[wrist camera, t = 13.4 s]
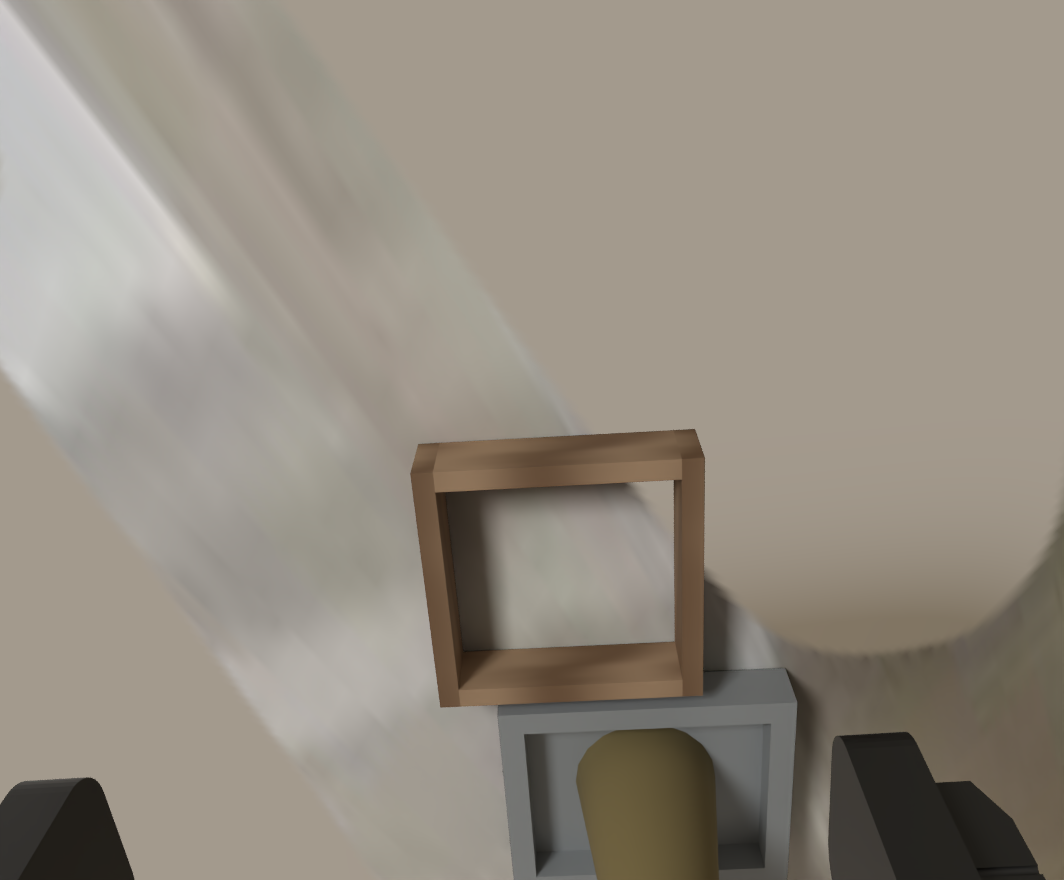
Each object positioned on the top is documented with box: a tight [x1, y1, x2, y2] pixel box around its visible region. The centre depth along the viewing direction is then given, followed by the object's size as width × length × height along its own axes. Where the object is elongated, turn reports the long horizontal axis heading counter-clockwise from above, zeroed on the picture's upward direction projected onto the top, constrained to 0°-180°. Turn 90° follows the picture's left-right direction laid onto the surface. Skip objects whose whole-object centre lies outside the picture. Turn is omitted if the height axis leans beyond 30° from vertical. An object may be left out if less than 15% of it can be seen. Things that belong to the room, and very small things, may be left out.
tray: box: [498, 668, 797, 880], centre depth 43 cm, size 12×10×2 cm
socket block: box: [410, 429, 705, 707], centre depth 38 cm, size 10×10×2 cm
